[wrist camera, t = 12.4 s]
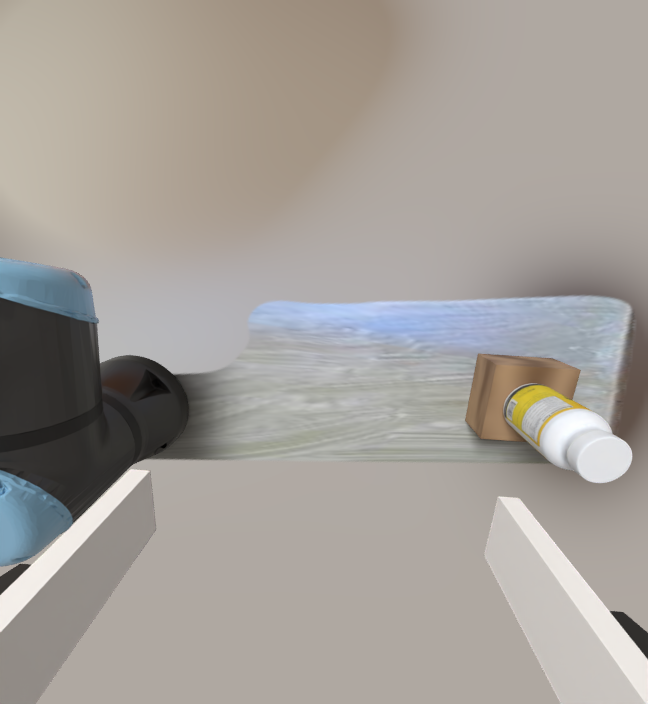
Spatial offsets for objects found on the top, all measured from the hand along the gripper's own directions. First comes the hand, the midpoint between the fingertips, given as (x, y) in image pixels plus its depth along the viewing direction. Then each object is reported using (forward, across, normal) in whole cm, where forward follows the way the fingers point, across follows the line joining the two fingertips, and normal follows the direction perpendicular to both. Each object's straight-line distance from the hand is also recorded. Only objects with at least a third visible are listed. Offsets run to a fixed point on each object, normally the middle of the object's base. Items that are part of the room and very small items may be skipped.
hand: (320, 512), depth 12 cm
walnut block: (+32, +25, -6) cm, 41 cm away
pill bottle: (+27, +25, -6) cm, 37 cm away
